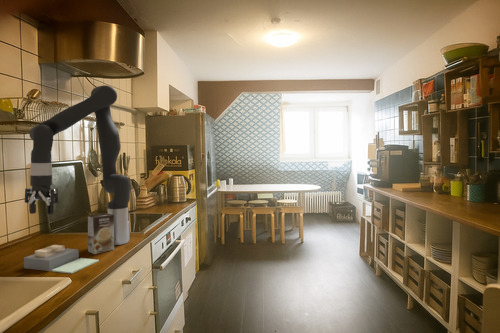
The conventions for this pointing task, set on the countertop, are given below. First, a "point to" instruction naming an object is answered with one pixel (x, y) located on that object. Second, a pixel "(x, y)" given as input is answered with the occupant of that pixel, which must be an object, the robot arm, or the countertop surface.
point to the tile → (49, 250)
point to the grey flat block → (51, 260)
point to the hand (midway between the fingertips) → (41, 213)
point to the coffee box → (100, 233)
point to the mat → (75, 265)
